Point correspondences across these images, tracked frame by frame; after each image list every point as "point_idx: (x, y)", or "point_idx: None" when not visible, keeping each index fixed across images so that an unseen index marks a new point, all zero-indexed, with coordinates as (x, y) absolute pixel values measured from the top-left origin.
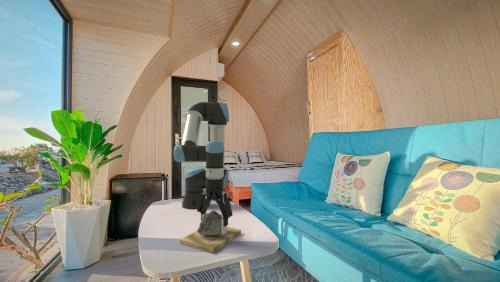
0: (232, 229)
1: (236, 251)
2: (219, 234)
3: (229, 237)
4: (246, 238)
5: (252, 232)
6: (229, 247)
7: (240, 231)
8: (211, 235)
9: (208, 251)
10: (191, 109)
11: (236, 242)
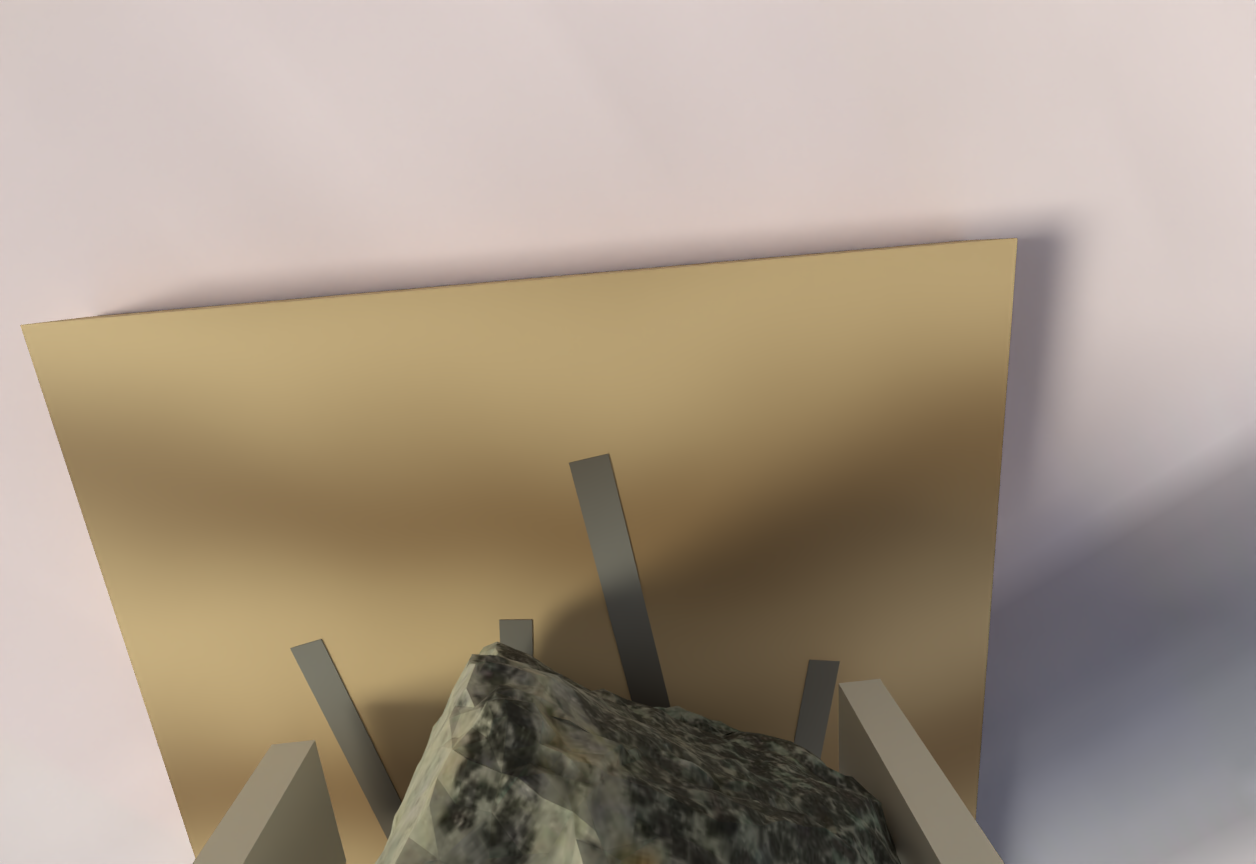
0: (807, 341)
1: (1201, 823)
2: (719, 712)
3: (980, 701)
4: (1182, 385)
5: (1200, 15)
6: (1050, 798)
7: (994, 257)
8: None
9: None
10: None
11: (1075, 619)
